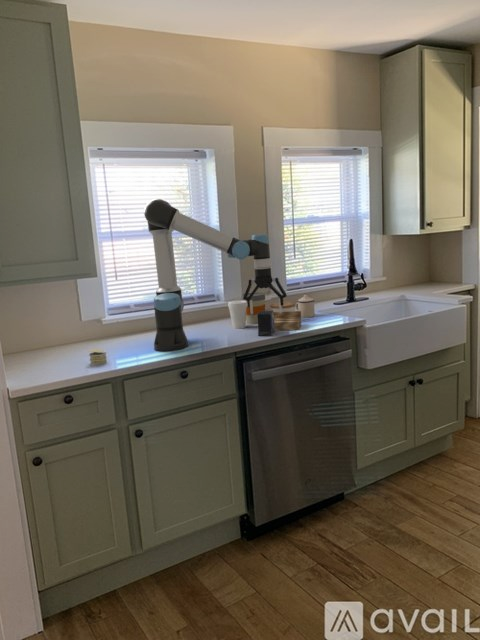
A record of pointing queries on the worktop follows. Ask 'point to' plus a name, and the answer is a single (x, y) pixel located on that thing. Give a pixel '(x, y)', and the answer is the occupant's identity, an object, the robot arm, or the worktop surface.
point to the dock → (287, 320)
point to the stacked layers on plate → (98, 356)
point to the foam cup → (238, 313)
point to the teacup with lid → (306, 307)
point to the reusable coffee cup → (254, 307)
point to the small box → (265, 323)
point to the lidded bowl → (283, 307)
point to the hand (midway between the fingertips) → (266, 313)
